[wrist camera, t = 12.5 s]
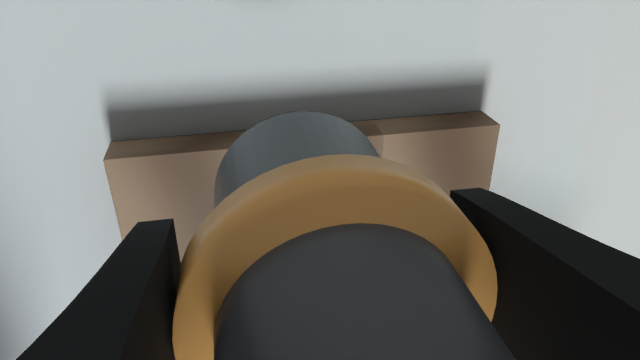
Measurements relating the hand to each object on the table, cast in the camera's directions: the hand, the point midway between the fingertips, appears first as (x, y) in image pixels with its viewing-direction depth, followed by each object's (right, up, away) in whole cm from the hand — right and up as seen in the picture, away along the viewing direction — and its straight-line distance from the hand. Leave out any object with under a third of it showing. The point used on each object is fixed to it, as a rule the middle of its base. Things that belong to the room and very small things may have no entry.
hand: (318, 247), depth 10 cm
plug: (0, +1, +2) cm, 3 cm away
